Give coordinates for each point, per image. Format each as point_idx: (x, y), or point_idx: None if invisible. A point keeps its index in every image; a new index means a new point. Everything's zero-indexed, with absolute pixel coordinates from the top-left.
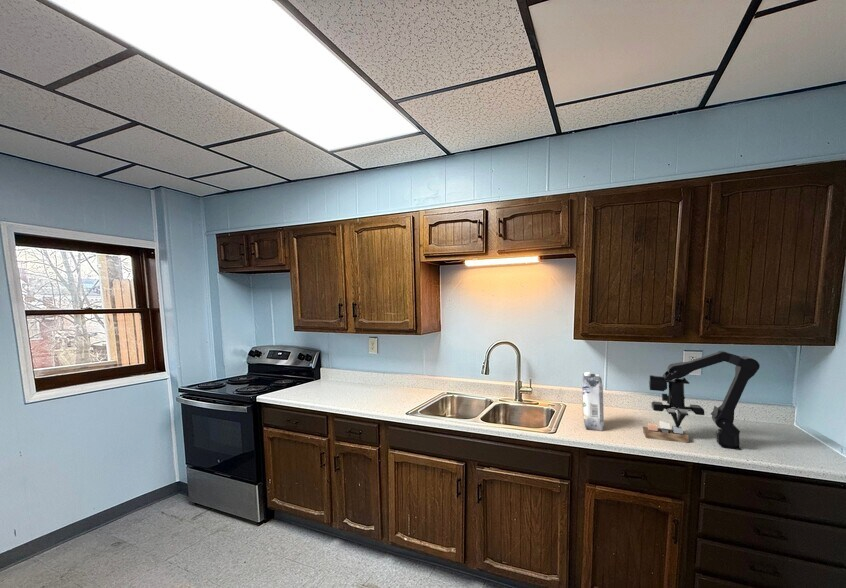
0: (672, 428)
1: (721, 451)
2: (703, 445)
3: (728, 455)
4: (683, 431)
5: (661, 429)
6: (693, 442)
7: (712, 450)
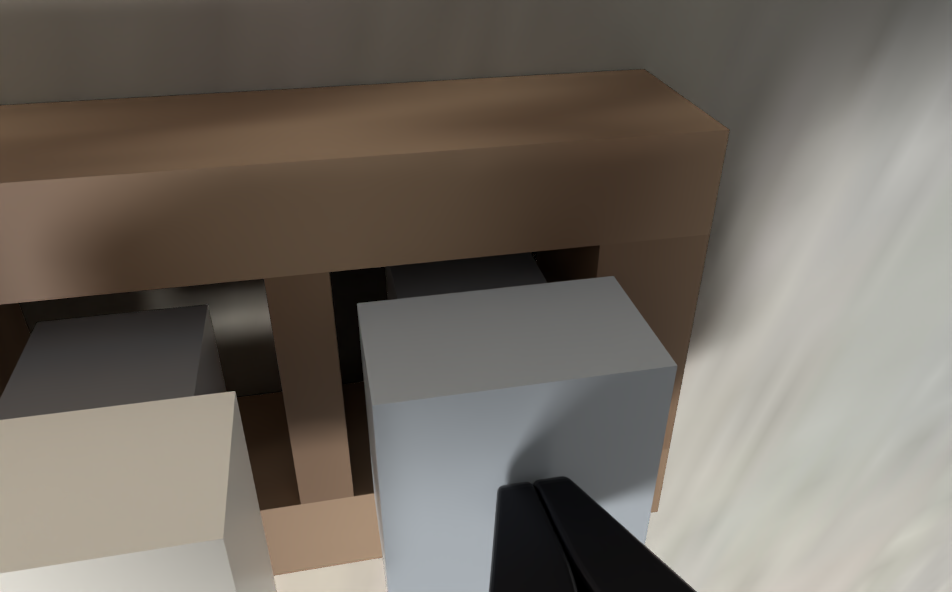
0: (369, 406)
1: (933, 510)
2: (810, 406)
3: (931, 585)
4: (685, 204)
5: (9, 388)
6: (704, 341)
7: (831, 531)
